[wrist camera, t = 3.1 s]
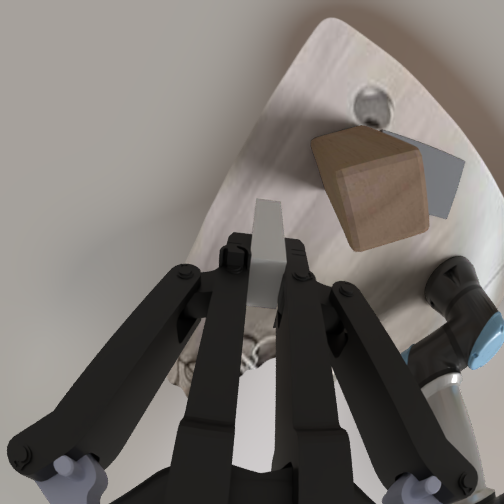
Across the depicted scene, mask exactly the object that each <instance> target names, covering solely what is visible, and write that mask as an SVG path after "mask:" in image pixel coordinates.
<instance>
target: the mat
mask: <svg viewBox="0 0 504 504" xmlns="http://www.w3.org/2000/svg"><path fill="white" fill-rule="evenodd" d="M382 132H383V133H385V134H388V135H390V136H393V137H395V138H398V139H400V140H402V141H405V142H407V143H409V144H411V145H414V146H416V147H418V149H419V151H420V153H421V155H422V160H423V166H424V173H425V180H426V189H427V199H428V211H429V215H432V216H436V217H440V218H444V219H447V217H448V214H449V212H450V209H451V206H452V203H453V200H454V197H455V194H456V191H457V188H458V185H459V182H460V178H461V175H462V171H463V168H464V164H465V161H463V160H461V159H459V158H457V157H455V156H452V155H450V154H448V153H445V152H443V151H440V150H438V149H436V148H433V147H431V146H428V145H425V144H423V143H420V142H417V141H415V140H412V139H409V138H406V137H403V136H400V135H397V134H394V133H391V132H388V131H384V130H382Z"/></svg>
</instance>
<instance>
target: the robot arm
mask: <svg viewBox="0 0 504 504" xmlns="http://www.w3.org/2000/svg"><path fill="white" fill-rule="evenodd" d="M425 296H426V299H427V301H428V303H429V304H430V306H431V307H432V308H433V309H435V310H436V311H437V312H438V313H440V314H441V315H442V316H443V317H445V319H446V321H447V323H445V324H444V325H442V326H441V327H440V328H438V329H437V330H435V331H434V332H432V333H431V334H430V335H428V336H427V337H425V338H424V339H422V340H420V341H419V342H417V343H416V344H412V345H411V346H410V347H409V348H408V349H406V350H405V351H403V352H402V353H401V354H400V353H399V351H398V349H397V348H396V346H395V344H394V343H393V341H392V340H391V338H390V336H389V335H388V333H387V332H386V330H385V328H384V327H383V325H382V324H381V322H380V321H379V319H378V318H377V316H376V314H375V313H374V311H373V310H372V308H371V307H370V305H369V304H368V302H367V301H366V299H365V298H364V296H363V295H362V293H361V292H360V290H359V289H358V288H357V287H356V286H355V285H353V284H351V283H349V282H346V281H338V282H335V283H334V284H333V286H332V287H329V286H326V285H323V284H321V283H319V282H317V281H316V278H315V276H314V274H313V273H312V272H311V271H309V266H308V261H307V256H306V252H305V247H304V244H303V243H302V242H301V241H300V240H298V239H290V238H284V228H283V219H282V209H281V202H279V201H272V200H264V199H256V206H255V214H254V222H253V230H252V234H245V233H236V232H233V233H232V234H231V235H230V236H229V237H228V241H227V245H225V246H223V247H222V248H221V249H220V254H219V268H217V269H216V270H213V271H209V272H200V269H199V268H198V267H196V266H194V265H192V264H180V265H177V266H175V267H173V268H172V269H171V270H170V271H169V272H168V273H167V274H166V275H165V276H164V278H163V279H162V280H161V281H160V282H159V283H158V284H157V285H156V286H155V287H154V289H153V290H152V291H151V292H150V293H149V294H148V295H147V296H146V298H145V299H144V300H143V301H142V302H141V303H140V304H139V306H138V307H137V308H136V309H135V310H134V311H133V312H132V314H131V315H130V316H129V317H128V318H127V319H126V321H125V322H124V323H123V324H122V325H121V326H120V328H119V329H118V330H117V331H116V333H115V334H114V335H113V336H112V337H111V338H110V339H109V341H108V342H107V343H106V344H105V346H104V347H103V348H102V349H101V351H100V352H99V353H98V354H97V355H96V357H95V358H94V359H93V360H92V362H91V363H90V364H89V365H88V366H87V368H86V369H85V371H84V372H83V373H82V374H81V375H80V377H79V378H78V379H77V381H76V382H75V383H74V384H73V386H72V387H71V388H70V390H69V391H68V392H67V393H66V395H65V396H64V398H63V399H62V400H61V401H60V403H59V404H58V406H57V407H56V408H55V410H54V411H53V412H51V413H50V414H48V415H47V416H45V417H43V418H42V419H40V420H39V421H37V422H36V423H35V424H33V425H31V426H30V427H28V428H26V429H25V430H23V431H22V432H20V433H19V434H17V435H16V436H14V437H13V438H12V439H11V440H10V441H9V444H8V446H7V456H8V459H9V462H10V464H11V465H12V467H13V468H14V469H15V470H16V471H17V472H19V473H20V474H22V475H24V476H26V477H28V478H31V479H33V480H34V481H35V482H36V483H37V485H38V486H39V488H40V489H41V491H42V492H43V494H44V495H45V497H46V498H47V500H48V501H49V503H50V504H100V498H101V495H102V494H103V492H104V491H105V490H106V488H107V485H108V478H107V475H106V473H105V471H104V470H105V469H106V468H107V467H108V466H109V465H110V464H111V463H112V462H113V461H114V460H115V459H116V457H117V456H118V454H119V453H120V452H121V450H122V449H123V447H124V445H125V444H126V442H127V440H128V439H129V437H130V436H131V434H132V432H133V430H134V429H135V427H136V426H137V424H138V422H139V421H140V419H141V417H142V416H143V414H144V412H145V411H146V409H147V407H148V406H149V404H150V402H151V401H152V399H153V398H154V396H155V394H156V393H157V391H158V389H159V388H160V386H161V384H162V383H163V381H164V379H165V378H166V376H167V375H168V373H169V371H170V370H171V368H172V367H173V365H174V363H175V362H176V360H177V358H178V357H179V355H180V353H181V352H182V350H183V349H184V347H185V345H186V344H187V342H188V341H189V339H190V337H191V336H192V334H193V332H194V331H195V329H196V328H197V326H198V324H199V323H200V321H201V318H205V317H206V321H205V325H204V329H203V334H202V338H201V342H200V347H199V351H198V355H197V360H196V364H195V369H194V373H193V378H192V382H191V387H190V392H189V396H188V401H187V406H186V411H185V415H184V417H183V419H182V420H181V421H180V424H179V427H178V431H177V436H176V440H175V445H174V450H173V455H172V461H171V466H170V467H167V468H164V469H162V470H160V471H158V472H156V473H155V474H154V475H152V476H151V477H149V478H148V479H146V480H145V481H144V482H142V483H141V484H139V485H138V486H136V487H135V488H133V489H132V490H130V491H129V492H127V493H126V494H124V495H123V496H121V497H119V498H118V499H116V500H114V501H113V502H111V503H110V504H376V503H375V502H374V501H372V500H371V499H370V498H369V497H368V496H367V495H366V494H365V493H364V492H363V491H362V490H361V489H360V488H359V487H358V486H357V485H356V484H355V483H354V482H353V471H352V459H351V449H350V441H349V436H348V434H347V432H346V430H345V429H343V428H341V427H340V425H339V420H338V411H337V403H336V396H335V388H334V381H333V374H332V368H333V371H334V373H335V375H336V378H337V380H338V382H339V384H340V387H341V389H342V392H343V394H344V397H345V399H346V401H347V403H348V406H349V408H350V411H351V413H352V416H353V418H354V420H355V423H356V425H357V428H358V430H359V433H360V435H361V438H362V440H363V443H364V445H365V447H366V450H367V453H368V455H369V458H370V460H371V463H372V465H373V467H374V470H375V472H376V474H377V476H378V478H379V479H380V481H381V482H382V484H383V485H384V487H385V488H386V489H387V490H388V491H387V493H386V494H385V495H384V497H383V499H382V503H383V504H504V493H503V494H502V495H500V496H498V497H496V496H495V490H494V489H490V488H487V487H486V486H485V480H484V474H483V469H482V464H481V459H480V455H479V451H478V446H477V443H476V439H475V436H474V432H473V429H472V425H471V421H470V418H469V415H468V412H467V409H466V406H465V403H464V400H463V397H462V395H461V392H460V389H459V386H460V384H461V381H462V374H461V372H460V371H462V370H463V369H464V368H466V367H467V366H468V367H469V368H470V369H472V370H475V369H478V368H479V367H482V366H483V365H485V364H486V363H487V362H488V361H489V360H490V359H491V358H492V357H493V356H494V355H495V354H496V353H497V352H498V350H499V349H500V347H501V346H502V344H503V342H504V320H503V318H502V315H501V313H500V312H499V311H498V310H497V308H496V307H495V305H494V304H493V303H492V301H491V300H490V298H489V297H488V296H487V294H486V293H485V291H484V290H483V289H482V287H481V286H480V284H479V281H478V277H477V275H476V272H475V269H474V266H473V265H472V264H471V262H470V261H469V260H468V259H467V258H465V257H461V256H458V257H453V258H451V259H449V260H447V261H445V262H444V263H443V264H441V265H440V266H439V267H438V268H437V269H436V270H435V271H434V272H433V274H432V275H431V277H430V278H429V280H428V282H427V285H426V289H425ZM277 303H278V310H277V314H276V318H275V322H274V326H273V328H276V415H275V416H276V417H275V451H274V456H273V460H272V469H271V472H266V473H257V472H254V471H250V470H247V469H244V468H241V467H237V466H234V465H232V456H233V446H234V435H235V418H236V408H237V397H238V396H237V395H238V386H239V376H240V366H241V355H242V345H243V335H244V324H245V314H246V306H253V307H262V308H272V309H276V307H277ZM331 366H332V367H331Z"/></svg>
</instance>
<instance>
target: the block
mask: <svg viewBox="0 0 504 504" xmlns="http://www.w3.org/2000/svg"><path fill="white" fill-rule="evenodd" d="M311 148H312V151H313V153H314V156H315V159H316V163H317V166H318V169H319V172H320V175H321V178H322V181H323V185H324V188H325V191H326V193H327V195H328V197H329V199H330V202H331V204H332V206H333V208H334V210H335V213H336V215H337V217H338V219H339V222H340V224H341V226H342V229H343V231H344V233H345V236H346V238H347V240H348V243H349V245H350V247H351V248H352V249H353V250H354V251H355V252H362V251H365V250H368V249H372V248H375V247H378V246H382V245H385V244H388V243H392V242H395V241H398V240H401V239H405V238H408V237H411V236H414V235H417V234H421V233H424V232H425V231H427V230H428V228H429V211H428V199H427V189H426V180H425V173H424V166H423V160H422V155H421V153H420V151H419V149H418V147H416V146H414V145H411V144H409V143H407V142H405V141H402V140H400V139H398V138H395V137H393V136H390V135H388V134H385V133H383V132H380V131H378V130H375V129H372V128H370V127H367V126H362V125H361V126H356V127H353V128H349V129H345V130H341V131H337V132H334V133H330V134H327V135H323V136H320V137H316V138H314V139H313V140H312V141H311Z"/></svg>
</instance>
